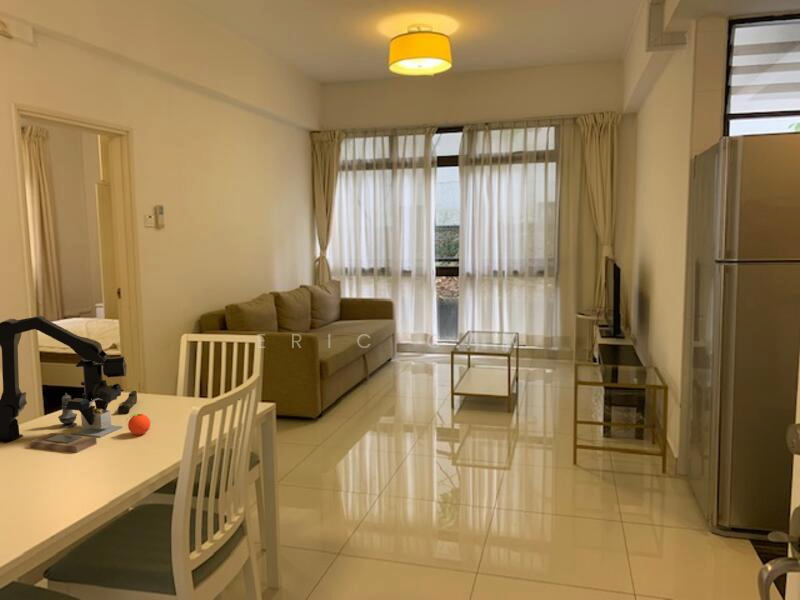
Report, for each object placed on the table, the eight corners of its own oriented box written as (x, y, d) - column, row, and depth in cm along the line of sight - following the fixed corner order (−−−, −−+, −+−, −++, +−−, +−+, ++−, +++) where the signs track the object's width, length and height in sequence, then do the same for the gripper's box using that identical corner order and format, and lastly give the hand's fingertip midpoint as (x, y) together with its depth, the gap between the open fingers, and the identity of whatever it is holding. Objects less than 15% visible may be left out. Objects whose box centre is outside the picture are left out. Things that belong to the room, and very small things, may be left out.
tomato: (121, 438, 196) (120, 417, 196) (130, 430, 203) (129, 410, 202) (146, 437, 197) (145, 417, 196) (154, 430, 204) (153, 410, 203)
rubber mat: (71, 434, 200) (71, 432, 200) (93, 424, 210) (93, 423, 210) (100, 437, 197) (100, 436, 197) (122, 427, 206) (121, 426, 206)
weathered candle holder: (70, 428, 206) (67, 395, 204) (54, 428, 206) (52, 394, 205) (81, 423, 211) (79, 390, 210) (66, 422, 212) (64, 389, 211)
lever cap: (82, 426, 202) (80, 409, 201) (92, 422, 206) (90, 405, 205) (101, 428, 200) (100, 411, 199) (111, 424, 204) (110, 407, 203)
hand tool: (129, 415, 221) (128, 403, 221) (117, 415, 221) (117, 403, 220) (143, 400, 240) (142, 389, 239) (132, 400, 239) (132, 389, 239)
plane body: (30, 447, 188) (30, 440, 188) (51, 438, 196) (51, 431, 196) (77, 452, 184) (76, 445, 183) (96, 443, 191) (96, 436, 191)
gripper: (91, 387, 190) (95, 433, 192) (132, 373, 208) (134, 416, 210) (63, 384, 193) (67, 430, 195) (106, 371, 211) (108, 413, 213)
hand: (96, 422), depth 203 cm, fingers closed on lever cap, 4 cm apart
